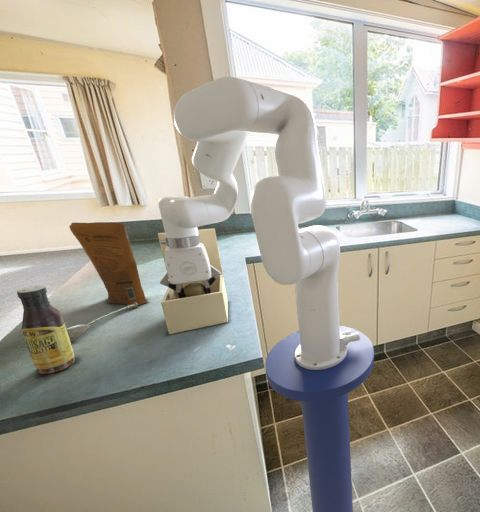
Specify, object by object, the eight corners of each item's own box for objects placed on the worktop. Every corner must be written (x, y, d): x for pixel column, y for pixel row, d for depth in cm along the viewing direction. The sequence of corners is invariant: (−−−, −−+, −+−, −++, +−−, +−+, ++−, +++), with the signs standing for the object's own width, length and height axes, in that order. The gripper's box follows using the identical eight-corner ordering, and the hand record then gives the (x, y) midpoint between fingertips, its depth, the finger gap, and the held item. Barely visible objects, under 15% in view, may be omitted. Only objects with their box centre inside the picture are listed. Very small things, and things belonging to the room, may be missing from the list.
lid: (214, 228, 92) (215, 225, 96) (157, 233, 86) (160, 230, 90) (222, 274, 97) (223, 269, 101) (169, 282, 91) (172, 276, 95)
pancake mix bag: (137, 309, 95) (113, 224, 87) (92, 303, 99) (64, 221, 91) (157, 300, 102) (136, 220, 93) (113, 295, 105) (89, 217, 97)
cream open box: (227, 322, 88) (222, 292, 85) (168, 334, 82) (160, 302, 79) (227, 302, 100) (223, 275, 97) (176, 311, 94) (169, 283, 91)
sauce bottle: (29, 378, 65) (-7, 296, 59) (52, 360, 71) (21, 284, 65) (66, 373, 67) (34, 293, 61) (85, 356, 73) (57, 281, 66)
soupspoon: (46, 346, 77) (66, 350, 76) (41, 336, 76) (62, 339, 75) (128, 305, 98) (145, 308, 97) (126, 296, 96) (143, 298, 95)
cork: (193, 325, 85) (185, 290, 81) (185, 318, 88) (177, 285, 85) (215, 316, 89) (208, 283, 86) (206, 311, 93) (199, 278, 89)
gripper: (142, 249, 75) (159, 312, 80) (218, 241, 82) (229, 300, 87) (149, 242, 81) (164, 301, 87) (219, 235, 88) (229, 290, 94)
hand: (196, 300), depth 87 cm, fingers closed on cork, 5 cm apart
